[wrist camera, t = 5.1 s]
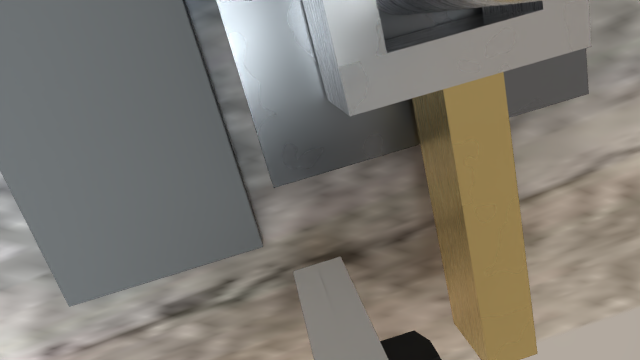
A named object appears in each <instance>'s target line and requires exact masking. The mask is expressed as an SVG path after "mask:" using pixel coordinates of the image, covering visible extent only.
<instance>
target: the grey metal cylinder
mask: <svg viewBox="0 0 640 360" xmlns="http://www.w3.org/2000/svg"><path fill="white" fill-rule="evenodd" d="M376 1H377V6H378V9H380V10H382V11H384V12H386V13H389V14H393V15H413V14H423V13H432V12H441V11H451V10H460V9H469V8H479V7H488V6H498V5H507V4H516V3H526V2H535V1H544V0H376Z"/></svg>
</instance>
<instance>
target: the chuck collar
mask: <svg viewBox="0 0 640 360" xmlns="http://www.w3.org/2000/svg"><path fill="white" fill-rule="evenodd" d="M303 4H304V8H305V12H306V17H307V21H308V25H309V29H310V33H311V37H312V41H313V45H314V49H315V53H316V57H317V61H318V65H319V69H320V73H321V77H322V81H323V85H324V89H325V93H326V97H327V100H329V101H330V102H331V103H333V104H334V105H335V106H337V107H338V108H339V109H341V110H342V111H343V112H345V113H346V114H347V115H349V116H353V115H356V114H360V113H363V112H367V111H370V110H374V109H377V108H381V107H384V106H387V105H391V104H394V103H398V102H401V101H405V100H408V99H412V103H413V108H414V113H415V119H416V124H417V129H418V135H419V140H420V145H421V151H422V156H423V161H424V167H425V172H426V177H427V182H428V188H429V193H430V198H431V204H432V209H433V214H434V220H435V225H436V230H437V236H438V241H439V246H440V251H441V257H442V262H443V267H444V273H445V278H446V283H447V289H448V294H449V299H450V305H451V310H452V315H453V320H454V324H455V325H456V326H457V328H458V329H459V330H460V332H461V333H462V334H463V336H464V337H465V338H466V340H467V341H468V342H469V344H470V345H471V346H472V348H473V349H474V350H475V352H476V353H477V354H478V356H479V357H480V358H481V360H520V359H523V358H526V357H529V356H532V355H535V354H537V346H536V337H535V329H534V321H533V313H532V304H531V296H530V288H529V280H528V271H527V263H526V255H525V247H524V238H523V230H522V222H521V213H520V205H519V197H518V189H517V180H516V172H515V164H514V156H513V147H512V139H511V131H510V123H509V114H508V106H507V98H506V90H505V81H504V73H503V72H505V71H508V70H511V69H515V68H518V67H522V66H525V65H529V64H532V63H536V62H539V61H542V60H546V59H549V58H553V57H556V56H560V55H563V54H567V53H570V52H573V51H577V50H580V49H584V48H587V47H591V31H590V14H589V0H544V1H535V2H526V3H516V4H507V5H498V6H488V7H482V12H483V14H479V15H475V16H472V17H468V18H465V19H461V20H457V21H454V22H450V23H447V24H443V25H439V26H436V27H432V28H429V29H425V30H421V31H418V32H414V33H411V34H407V35H403V36H400V37H396V38H393V39H389V40H386V41H384V36H383V31H382V26H381V21H380V16H379V11H378V6H377V1H376V0H303Z"/></svg>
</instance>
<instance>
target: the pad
mask: <svg viewBox="0 0 640 360" xmlns="http://www.w3.org/2000/svg"><path fill="white" fill-rule="evenodd" d="M0 171H1V173H2V175H3V177H4V179H5V181H6V183H7V185H8V187H9V189H10V191H11V193H12V195H13V197H14V199H15V201H16V203H17V205H18V207H19V209H20V211H21V213H22V215H23V217H24V219H25V220H26V222H27V224H28V226H29V228H30V230H31V232H32V234H33V236H34V238H35V240H36V242H37V244H38V246H39V248H40V250H41V252H42V254H43V256H44V258H45V260H46V262H47V264H48V266H49V268H50V270H51V272H52V274H53V276H54V278H55V280H56V282H57V284H58V286H59V288H60V290H61V292H62V294H63V296H64V298H65V300H66V301H67V303H68V305H69V307H70V306H73V305H76V304H80V303H83V302H86V301H89V300H93V299H96V298H99V297H102V296H106V295H109V294H112V293H115V292H119V291H122V290H125V289H128V288H131V287H135V286H138V285H141V284H144V283H148V282H151V281H154V280H157V279H161V278H164V277H167V276H170V275H174V274H177V273H180V272H183V271H187V270H190V269H193V268H196V267H199V266H203V265H206V264H209V263H212V262H216V261H219V260H222V259H225V258H229V257H232V256H235V255H238V254H242V253H245V252H248V251H251V250H254V249H258V248H261V247H263V242H262V238H261V235H260V232H259V229H258V226H257V223H256V220H255V217H254V214H253V210H252V207H251V204H250V201H249V198H248V195H247V192H246V189H245V186H244V183H243V180H242V177H241V174H240V171H239V168H238V165H237V162H236V159H235V155H234V152H233V149H232V146H231V143H230V140H229V137H228V134H227V131H226V128H225V125H224V122H223V119H222V116H221V113H220V110H219V107H218V104H217V100H216V97H215V94H214V91H213V88H212V85H211V82H210V79H209V76H208V73H207V70H206V67H205V64H204V61H203V58H202V55H201V52H200V49H199V45H198V42H197V39H196V36H195V33H194V30H193V27H192V24H191V21H190V18H189V15H188V12H187V9H186V6H185V3H184V0H0Z"/></svg>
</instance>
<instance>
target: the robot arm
mask: <svg viewBox="0 0 640 360" xmlns="http://www.w3.org/2000/svg"><path fill="white" fill-rule="evenodd" d="M293 274H294V278H295V282H296V286H297V290H298V294H299V299H300V303H301V307H302V311H303V315H304V319H305V324H306V328H307V332H308V336H309V340H310V345H311V349H312V353H313V357H314V360H442V359H440V357H439V354H438V353H437V351H436V350H435V348H434V346H433V345H432V343H431V342H430V340H428V339H426V338H425V337H423V336H422V335H420V334H419V333H417V332H416V331H411V332H408V333H405V334H402V335H399V336H396V337H393V338H390V339H387V340H384V341H380V340H379V338H378V336H377V334H376V332H375V330H374V327H373V325H372V323H371V321H370V319H369V317H368V314H367V312H366V310H365V308H364V306H363V304H362V302H361V299H360V297H359V295H358V293H357V291H356V289H355V286H354V284H353V282H352V280H351V278H350V276H349V274H348V271H347V269H346V267H345V265H344V263H343V261H342V258H341V257H337V258H334V259H331V260H328V261H324V262H321V263H318V264H315V265H311V266H308V267H305V268H302V269H299V270H295V271H293Z"/></svg>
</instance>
